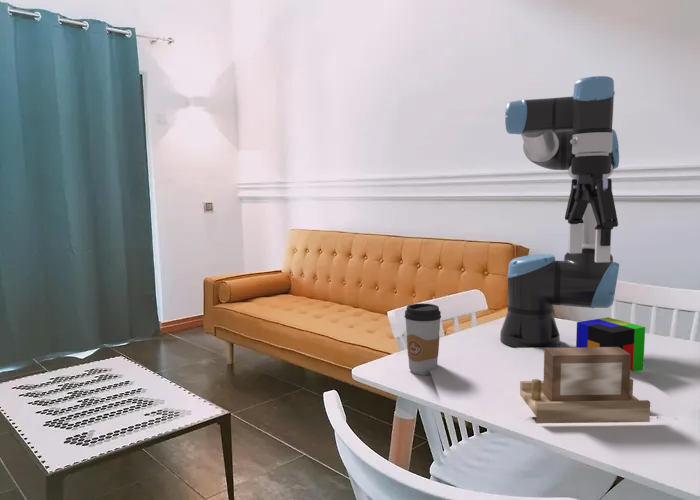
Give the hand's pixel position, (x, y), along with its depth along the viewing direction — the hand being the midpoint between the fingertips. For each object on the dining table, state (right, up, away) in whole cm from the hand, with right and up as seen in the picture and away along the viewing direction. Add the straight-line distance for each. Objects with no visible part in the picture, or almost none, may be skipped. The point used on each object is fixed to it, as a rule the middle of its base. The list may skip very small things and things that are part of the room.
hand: (587, 257), depth 113 cm
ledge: (-7, -29, -12) cm, 32 cm away
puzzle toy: (+10, -26, +11) cm, 30 cm away
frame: (-6, -26, -13) cm, 30 cm away
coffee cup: (-33, -26, +11) cm, 44 cm away
